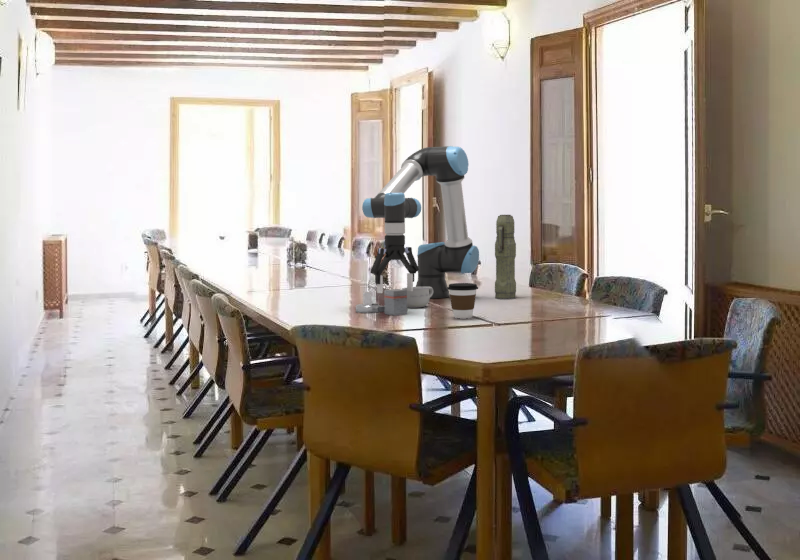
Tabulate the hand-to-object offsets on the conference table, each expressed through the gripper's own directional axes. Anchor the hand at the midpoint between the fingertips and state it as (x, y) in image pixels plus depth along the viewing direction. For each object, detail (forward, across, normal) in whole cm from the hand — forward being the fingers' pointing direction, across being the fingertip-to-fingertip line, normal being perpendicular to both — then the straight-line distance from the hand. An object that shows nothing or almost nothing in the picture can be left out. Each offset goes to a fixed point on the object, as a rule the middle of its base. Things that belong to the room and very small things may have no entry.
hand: (395, 292), depth 349 cm
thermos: (+8, -65, -12) cm, 67 cm away
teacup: (+8, -20, -12) cm, 25 cm away
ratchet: (+8, -1, -10) cm, 13 cm away
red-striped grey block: (+8, 0, 0) cm, 8 cm away
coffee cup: (+8, -13, +23) cm, 28 cm away
